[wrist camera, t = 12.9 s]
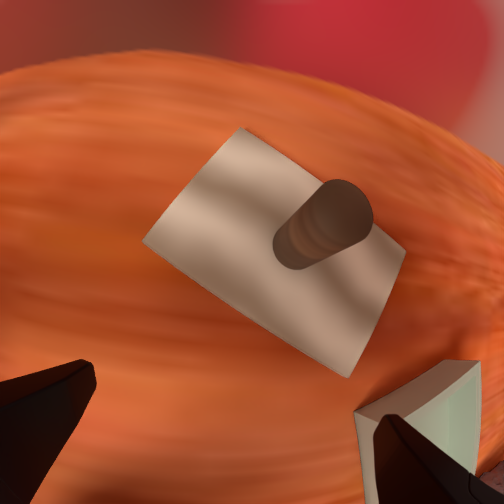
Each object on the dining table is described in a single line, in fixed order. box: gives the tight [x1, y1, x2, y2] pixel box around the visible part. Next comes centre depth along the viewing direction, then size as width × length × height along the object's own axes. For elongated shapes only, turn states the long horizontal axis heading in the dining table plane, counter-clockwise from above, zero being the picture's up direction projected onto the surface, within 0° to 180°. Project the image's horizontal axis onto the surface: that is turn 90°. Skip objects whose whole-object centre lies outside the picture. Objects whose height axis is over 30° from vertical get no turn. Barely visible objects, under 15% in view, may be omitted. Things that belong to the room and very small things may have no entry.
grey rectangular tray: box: [354, 360, 481, 504], centre depth 18 cm, size 12×18×5 cm, turn 14°
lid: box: [142, 127, 406, 378], centre depth 19 cm, size 13×19×9 cm
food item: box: [479, 460, 504, 494], centre depth 16 cm, size 14×8×10 cm, turn 90°
